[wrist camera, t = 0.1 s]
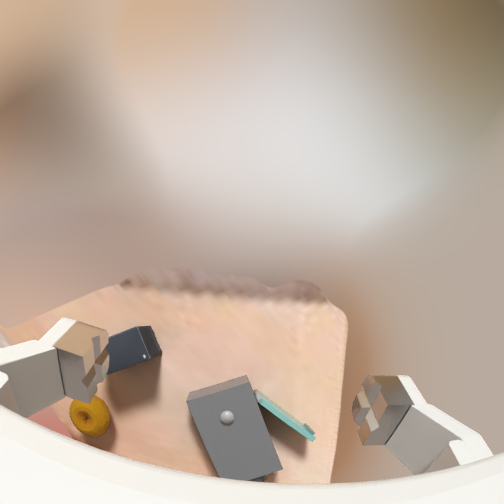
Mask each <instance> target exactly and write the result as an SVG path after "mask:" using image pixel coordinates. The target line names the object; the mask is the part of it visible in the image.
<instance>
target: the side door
mask: <svg viewBox="0 0 504 504" xmlns="http://www.w3.org/2000/svg"><path fill="white" fill-rule="evenodd" d="M253 393H254V395H255V397H256V400H257V402H258V403H260V404H261V405H262V406H264V407H265V408H266V409H268V410H269V411H270V412H272V413H273V414H274V415H276V416H277V417H278V418H280V419H281V420H282V421H284V422H285V423H286V424H288V425H289V426H291V427H292V428H293V429H295V430H296V431H298V432H299V433H300V434H302V435H303V436H305V437H306V438H308V439H309V440H310V441H312V442H313V441H314V440H315V439H316V438H315V436H314V434H315V433H314V431H313V430H312V429H311V428H310V427H309V426H308V425H307V424H304V425H303V424H301V423H300V422H299V421H297V420H296V419H294V418H293V417H292V416H290V415H289V414H288V413H286V412H285V411H284V410H282V409H281V408H280V407H278V406H277V405H276V404H274V403H273V402H272V401H271V400H269V399H268V398H267V397H265V396H264V395H263V394H262V393H260V392H259V391H258V390H254V391H253Z"/></svg>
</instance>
